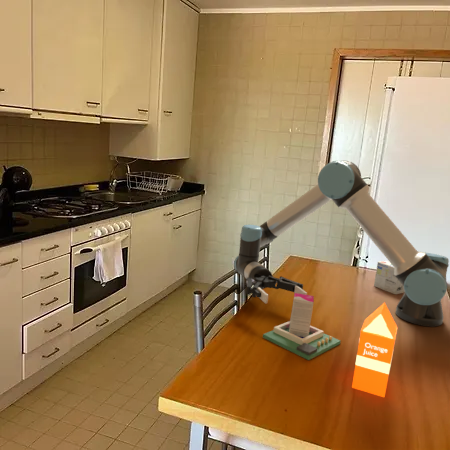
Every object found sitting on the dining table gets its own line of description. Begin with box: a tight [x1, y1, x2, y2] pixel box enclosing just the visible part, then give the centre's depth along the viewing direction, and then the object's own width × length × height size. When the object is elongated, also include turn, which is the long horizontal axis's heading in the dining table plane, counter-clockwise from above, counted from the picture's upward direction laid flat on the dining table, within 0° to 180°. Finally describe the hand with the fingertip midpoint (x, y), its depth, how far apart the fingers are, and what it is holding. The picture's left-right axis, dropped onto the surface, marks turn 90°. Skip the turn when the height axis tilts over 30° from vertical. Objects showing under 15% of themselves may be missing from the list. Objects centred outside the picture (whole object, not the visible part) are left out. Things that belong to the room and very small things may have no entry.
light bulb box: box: [373, 260, 405, 295], centre depth 180 cm, size 11×7×11 cm, turn 34°
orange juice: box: [351, 301, 398, 398], centre depth 106 cm, size 8×9×20 cm
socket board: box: [262, 320, 342, 361], centre depth 128 cm, size 16×16×2 cm
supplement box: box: [289, 293, 315, 338], centre depth 129 cm, size 6×6×12 cm
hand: (286, 298), depth 137 cm, fingers open, 13 cm apart
